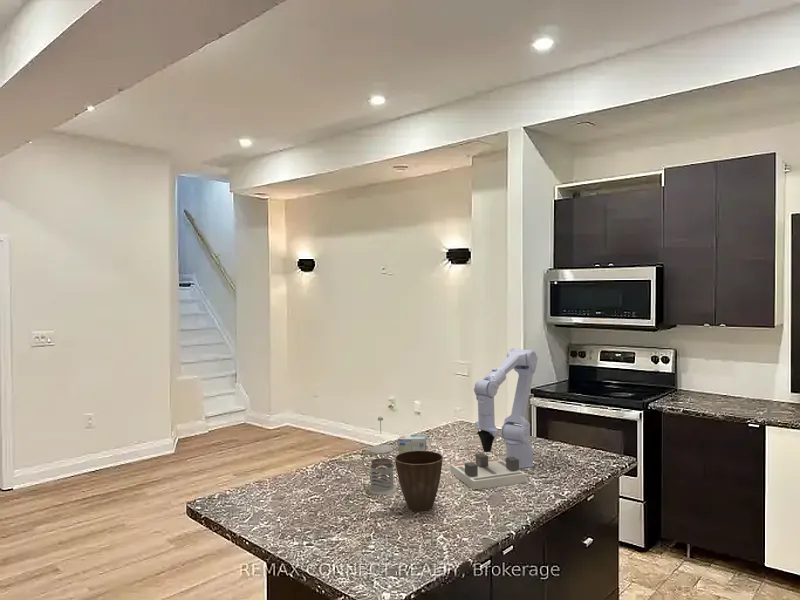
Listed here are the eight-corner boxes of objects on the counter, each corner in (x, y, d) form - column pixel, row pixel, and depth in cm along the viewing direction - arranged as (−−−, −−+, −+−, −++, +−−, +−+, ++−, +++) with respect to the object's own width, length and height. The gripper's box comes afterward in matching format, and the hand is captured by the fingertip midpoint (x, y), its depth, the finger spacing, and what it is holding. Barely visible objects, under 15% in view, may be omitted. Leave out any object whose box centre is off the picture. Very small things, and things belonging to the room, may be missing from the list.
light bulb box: (427, 461, 234) (426, 433, 233) (426, 466, 227) (425, 438, 227) (400, 460, 235) (399, 433, 234) (398, 466, 228) (397, 438, 228)
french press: (393, 495, 197) (391, 420, 196) (359, 493, 199) (357, 419, 198) (399, 485, 206) (397, 413, 206) (367, 483, 209) (365, 413, 208)
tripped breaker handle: (483, 463, 218) (483, 453, 218) (488, 466, 214) (488, 456, 214) (475, 463, 217) (475, 454, 217) (480, 467, 213) (480, 457, 213)
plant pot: (389, 503, 189) (388, 453, 189) (432, 496, 195) (431, 448, 194) (406, 520, 175) (405, 467, 175) (452, 512, 181) (450, 460, 180)
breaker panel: (499, 466, 225) (498, 447, 224) (526, 482, 206) (525, 462, 205) (450, 472, 218) (449, 454, 218) (473, 490, 199) (473, 469, 199)
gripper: (467, 410, 217) (468, 447, 217) (485, 419, 203) (486, 458, 203) (484, 408, 219) (485, 445, 219) (503, 417, 205) (504, 456, 206)
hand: (487, 451), depth 211 cm, fingers closed
